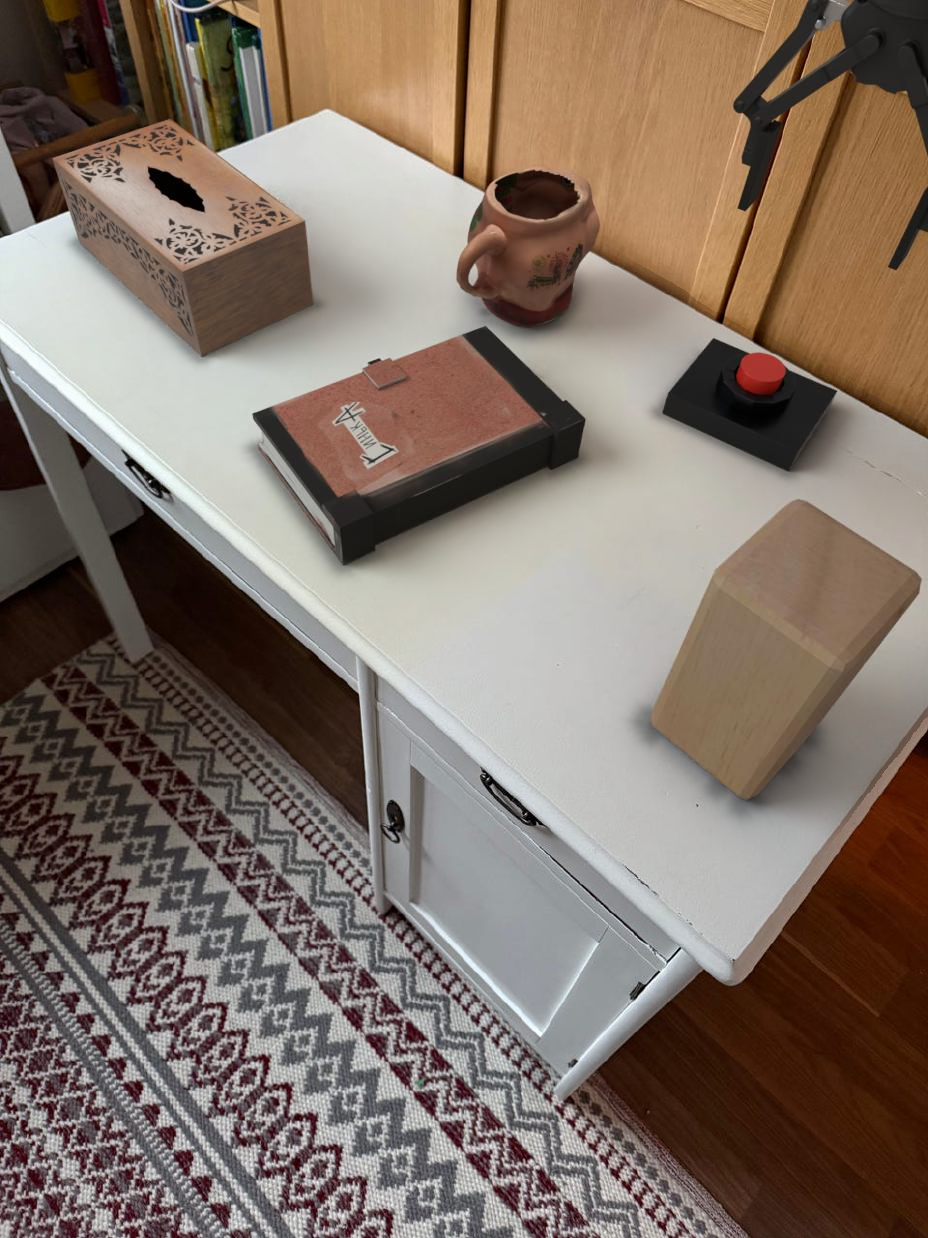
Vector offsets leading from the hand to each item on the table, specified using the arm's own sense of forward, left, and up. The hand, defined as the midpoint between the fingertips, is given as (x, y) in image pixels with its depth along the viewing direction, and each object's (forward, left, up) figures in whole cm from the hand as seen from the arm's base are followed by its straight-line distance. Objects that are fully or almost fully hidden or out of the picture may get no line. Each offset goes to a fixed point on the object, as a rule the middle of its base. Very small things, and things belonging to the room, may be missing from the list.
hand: (820, 231), depth 77 cm
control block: (0, 0, -20) cm, 21 cm away
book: (+24, +25, -21) cm, 40 cm away
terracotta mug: (+28, 0, -21) cm, 35 cm away
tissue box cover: (+61, +17, -21) cm, 67 cm away
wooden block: (-14, +35, -21) cm, 43 cm away
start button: (0, 0, -16) cm, 16 cm away
